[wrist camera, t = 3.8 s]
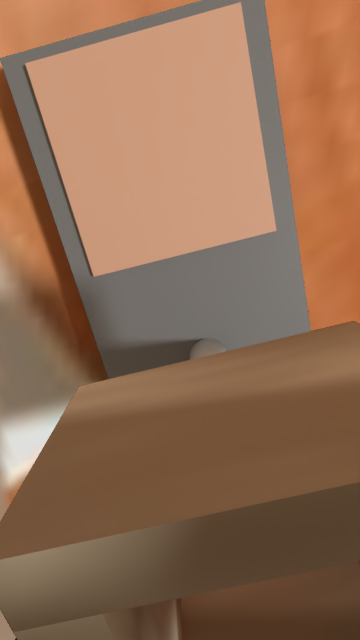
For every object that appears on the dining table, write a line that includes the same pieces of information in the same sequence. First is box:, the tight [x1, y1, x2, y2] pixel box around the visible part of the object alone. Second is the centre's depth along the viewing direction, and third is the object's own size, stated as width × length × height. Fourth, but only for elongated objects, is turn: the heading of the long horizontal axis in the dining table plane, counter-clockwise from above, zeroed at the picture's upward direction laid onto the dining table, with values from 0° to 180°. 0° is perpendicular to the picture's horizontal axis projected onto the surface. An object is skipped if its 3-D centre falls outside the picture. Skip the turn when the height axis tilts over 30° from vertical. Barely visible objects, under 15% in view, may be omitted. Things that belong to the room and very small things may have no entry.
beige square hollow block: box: [0, 321, 360, 640], centre depth 7 cm, size 7×7×4 cm
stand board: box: [0, 0, 311, 379], centre depth 14 cm, size 20×11×6 cm, turn 14°
